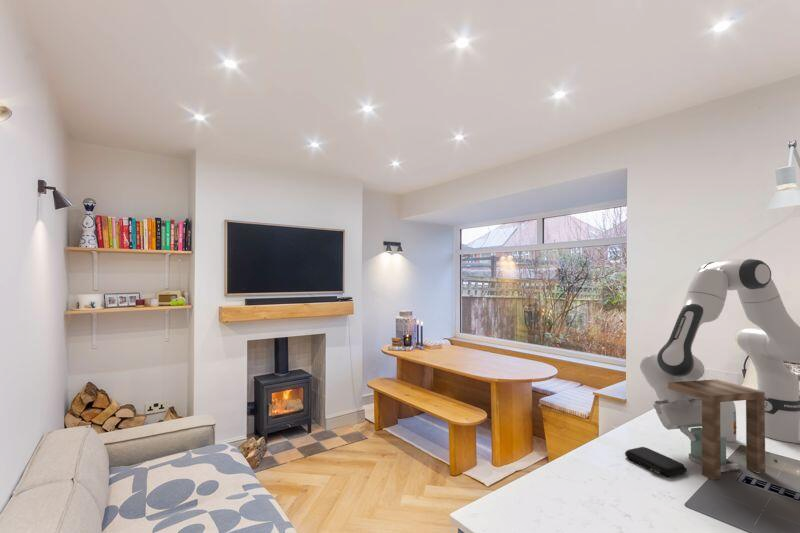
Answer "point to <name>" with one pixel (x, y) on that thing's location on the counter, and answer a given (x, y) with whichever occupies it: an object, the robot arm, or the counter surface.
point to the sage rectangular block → (697, 445)
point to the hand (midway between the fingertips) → (704, 439)
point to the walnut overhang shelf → (711, 434)
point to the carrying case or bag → (656, 462)
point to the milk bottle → (728, 420)
